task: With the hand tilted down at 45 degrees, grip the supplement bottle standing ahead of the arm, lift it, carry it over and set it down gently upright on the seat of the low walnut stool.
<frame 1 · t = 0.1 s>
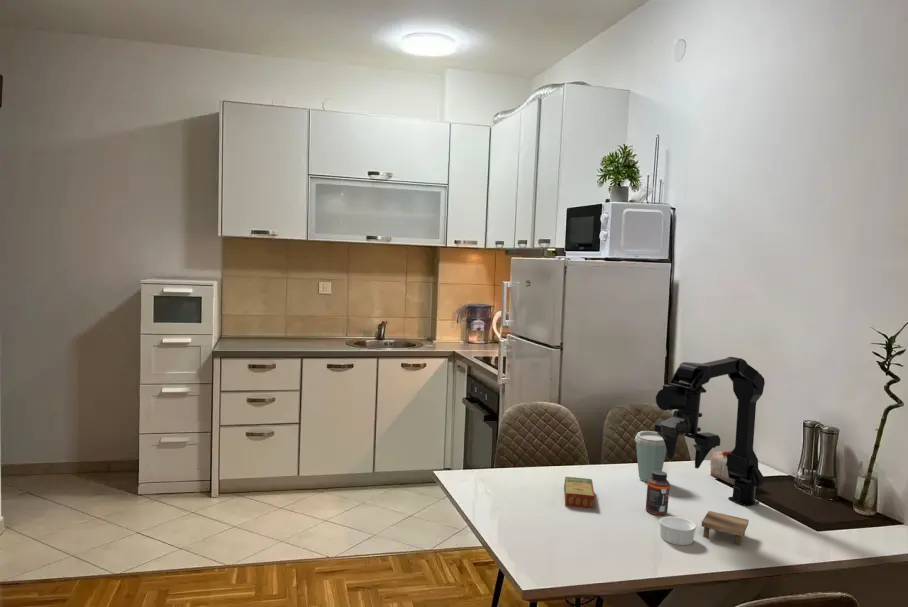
hand: (683, 463, 191), 15 cm above the table, tool pointing down, fingers open, 9 cm apart
food item: (728, 481, 227), on the table
carton: (578, 499, 200), on the table
supplement bottle: (656, 512, 193), on the table
stool: (724, 535, 178), on the table
disposable coffee cup: (648, 480, 222), on the table
ramekin: (676, 540, 174), on the table
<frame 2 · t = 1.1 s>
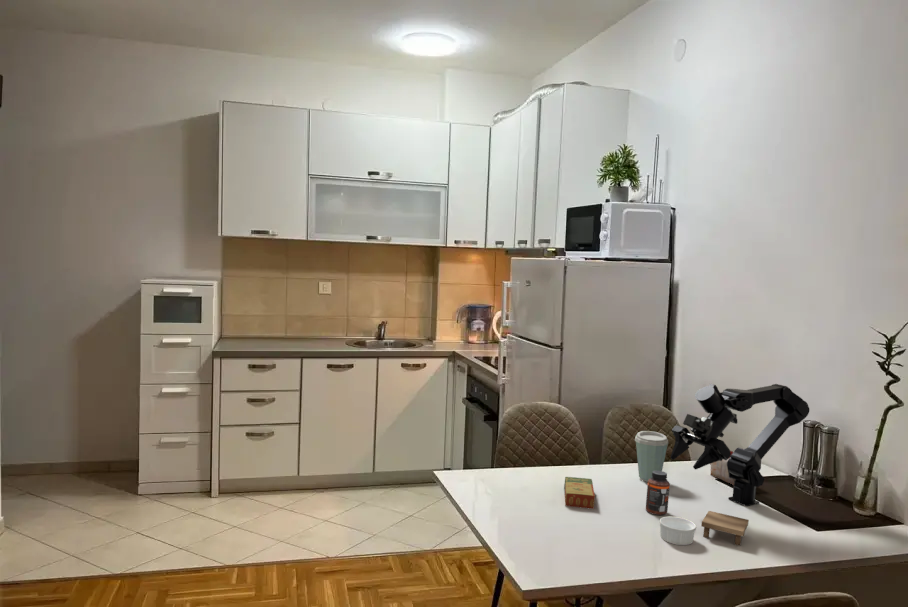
hand: (682, 463, 195), 13 cm above the table, tool tilted 45°, fingers open, 9 cm apart
nothing on the table moved.
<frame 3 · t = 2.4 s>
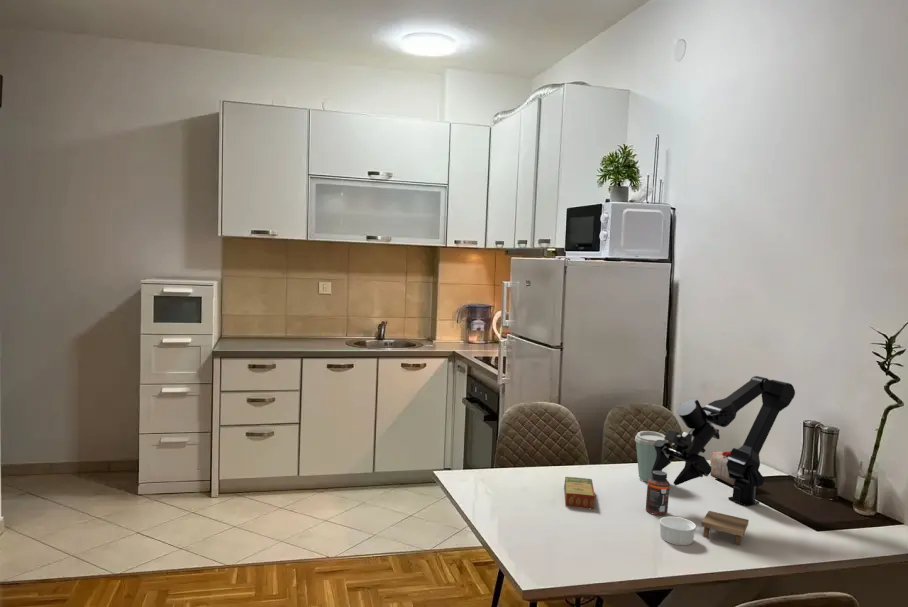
hand: (663, 479, 193), 9 cm above the table, tool tilted 45°, fingers open, 9 cm apart
nothing on the table moved.
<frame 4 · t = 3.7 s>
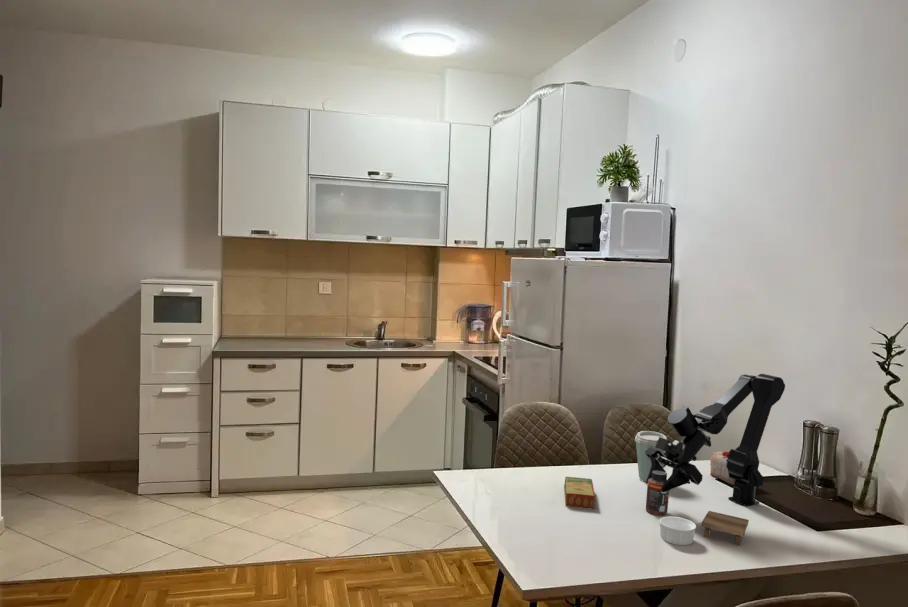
hand: (654, 487, 192), 7 cm above the table, tool tilted 45°, fingers closed on supplement bottle, 6 cm apart
supplement bottle: (656, 512, 193), on the table, touching gripper
everything else where it was.
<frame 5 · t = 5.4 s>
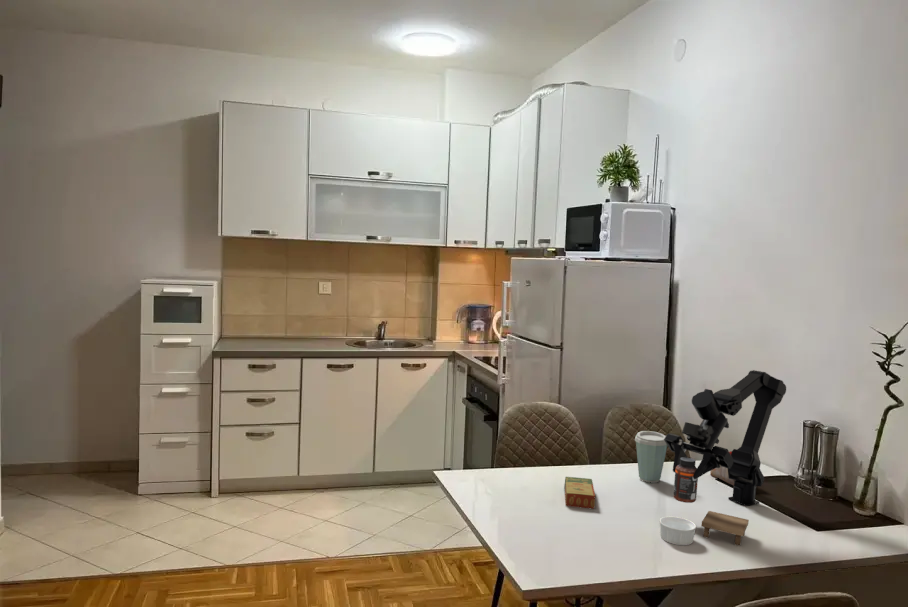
hand: (683, 474, 185), 13 cm above the table, tool tilted 45°, fingers closed on supplement bottle, 6 cm apart
supplement bottle: (684, 500, 186), point 6 cm above the table, touching gripper
everything else where it was.
when the fingers open (12 cm above the table, at t = 7.1 s): supplement bottle stays where it is, resting on stool.
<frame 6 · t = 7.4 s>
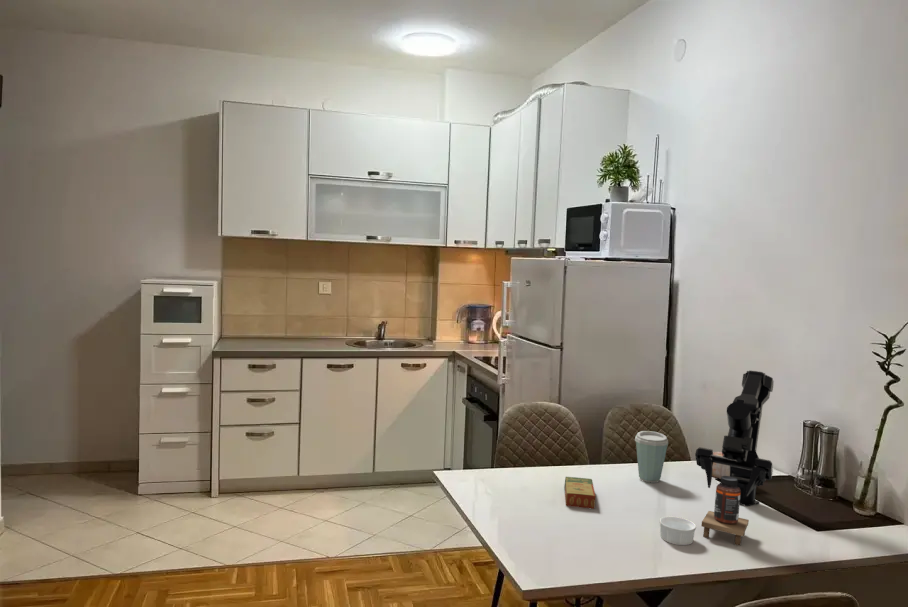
hand: (727, 491, 176), 12 cm above the table, tool tilted 45°, fingers open, 9 cm apart
supplement bottle: (725, 521, 178), point 4 cm above the table, touching stool
everything else where it was.
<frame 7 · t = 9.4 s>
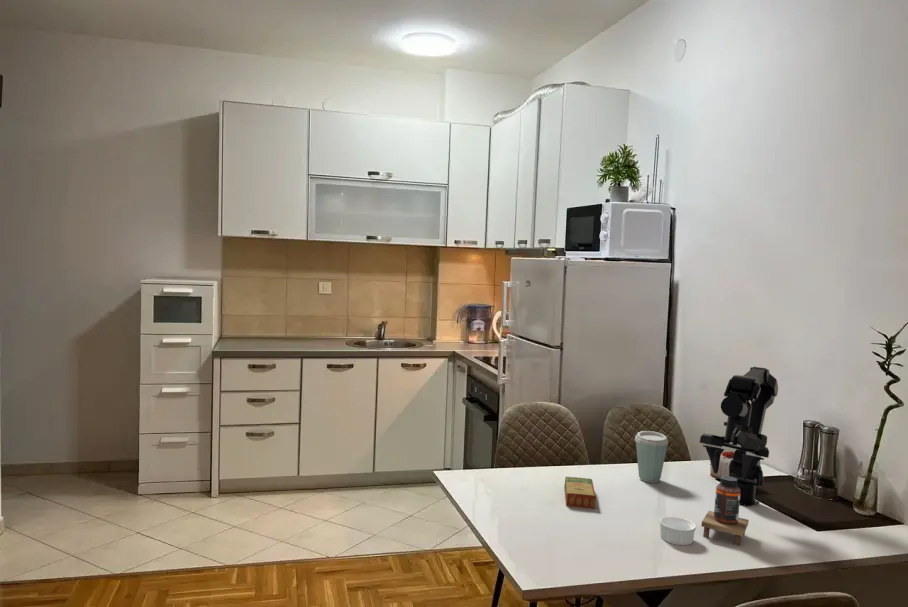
hand: (729, 476, 189), 12 cm above the table, tool pointing down, fingers open, 9 cm apart
nothing on the table moved.
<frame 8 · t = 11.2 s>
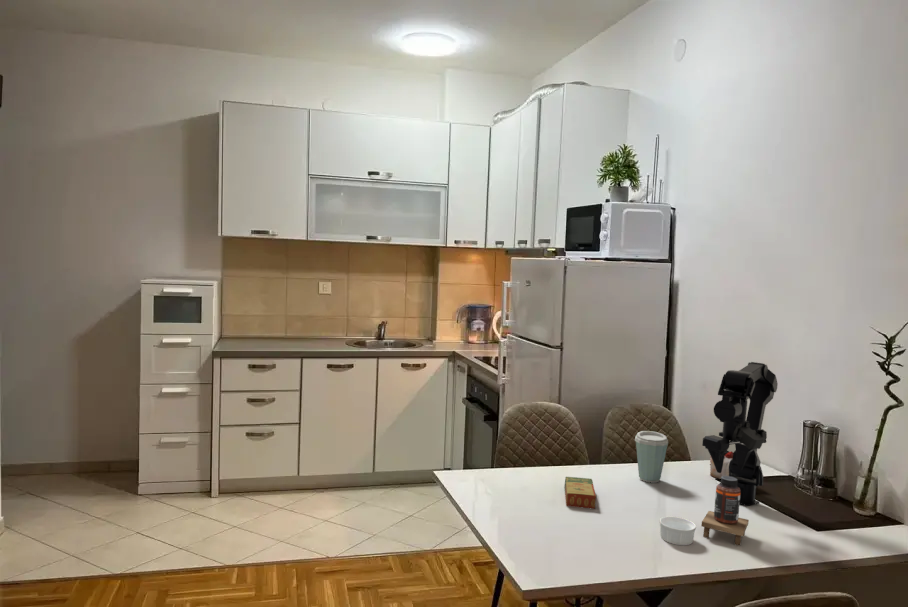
hand: (729, 470, 192), 13 cm above the table, tool pointing down, fingers open, 9 cm apart
nothing on the table moved.
at the end: supplement bottle 0.2 cm from the stool (horizontally); supplement bottle touching stool; supplement bottle tilted 0° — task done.
